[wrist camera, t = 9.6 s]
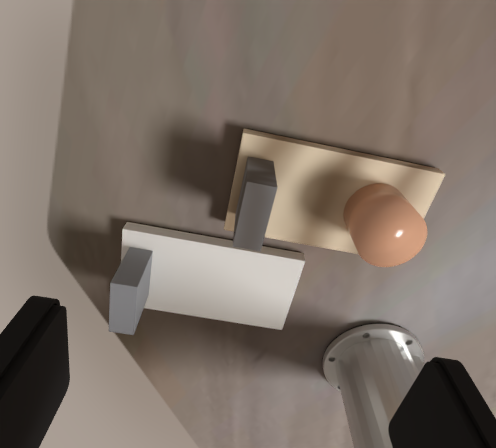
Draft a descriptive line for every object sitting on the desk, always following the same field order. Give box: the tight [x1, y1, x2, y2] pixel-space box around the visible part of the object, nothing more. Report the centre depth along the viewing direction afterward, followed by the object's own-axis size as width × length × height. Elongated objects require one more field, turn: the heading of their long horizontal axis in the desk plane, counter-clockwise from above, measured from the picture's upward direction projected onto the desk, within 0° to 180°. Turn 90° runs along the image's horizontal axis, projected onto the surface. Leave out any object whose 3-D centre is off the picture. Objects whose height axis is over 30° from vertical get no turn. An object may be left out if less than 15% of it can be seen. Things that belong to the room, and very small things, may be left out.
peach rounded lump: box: [343, 183, 427, 267], centre depth 34 cm, size 6×6×5 cm
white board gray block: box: [109, 222, 305, 335], centre depth 39 cm, size 19×10×8 cm, turn 78°
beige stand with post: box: [224, 129, 445, 254], centre depth 34 cm, size 19×10×8 cm, turn 78°
